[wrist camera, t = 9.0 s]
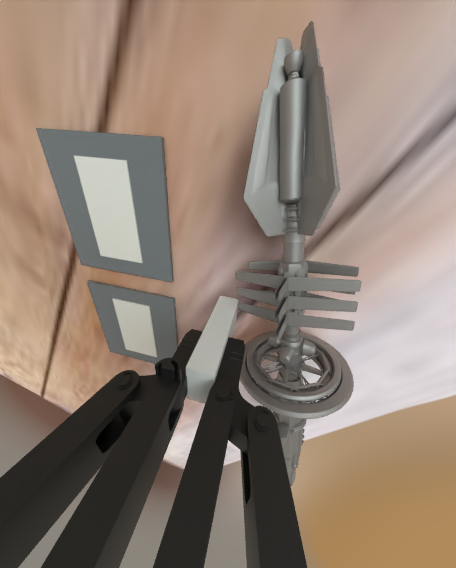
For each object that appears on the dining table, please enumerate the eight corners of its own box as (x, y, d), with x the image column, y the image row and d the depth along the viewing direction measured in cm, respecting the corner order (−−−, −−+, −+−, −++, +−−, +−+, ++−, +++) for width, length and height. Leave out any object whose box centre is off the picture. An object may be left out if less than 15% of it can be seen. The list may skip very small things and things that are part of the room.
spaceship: (238, 512, 20) (324, 579, 16) (158, 28, 7) (526, -267, 3) (264, 435, 26) (330, 469, 22) (249, 109, 13) (401, 52, 9)
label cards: (40, 129, 14) (34, 127, 14) (163, 137, 13) (160, 136, 12) (111, 349, 26) (109, 352, 26) (179, 367, 25) (178, 370, 24)
